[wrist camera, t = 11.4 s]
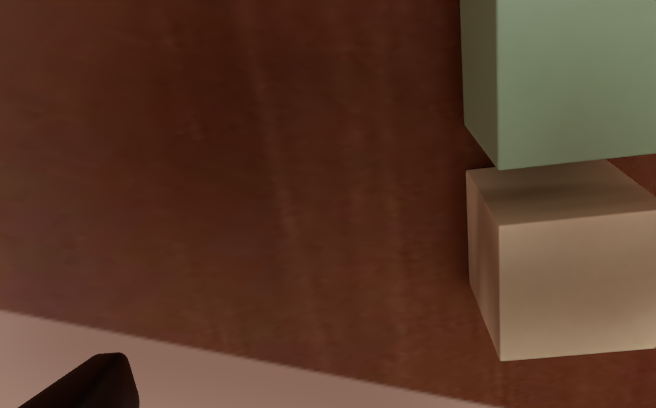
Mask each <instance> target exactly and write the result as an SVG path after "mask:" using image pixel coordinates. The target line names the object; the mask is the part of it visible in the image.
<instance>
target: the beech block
mask: <svg viewBox="0 0 656 408" xmlns="http://www.w3.org/2000/svg"><path fill="white" fill-rule="evenodd" d="M466 196H467V225H468V255H469V283H470V286H471V288H472V291H473V294H474V296H475V299H476V301H477V304H478V306H479V309H480V311H481V314H482V316H483V319H484V321H485V324H486V326H487V329H488V332H489V334H490V337H491V339H492V342H493V344H494V347H495V349H496V352H497V354H498V357H499V359H500V361H511V360H523V359H535V358H547V357H558V356H570V355H582V354H594V353H605V352H617V351H629V350H641V349H652V348H655V347H656V197H655V196H654V195H653V194H651V193H650V192H649V191H647V190H646V189H645V188H643V187H642V186H641V185H639V184H638V183H637V182H635V181H634V180H633V179H631V178H630V177H629V176H627V175H626V174H625V173H623V172H622V171H621V170H619V169H618V168H617V167H615V166H614V165H613V164H611V163H610V162H609V161H607V160H606V159H600V160H591V161H582V162H572V163H563V164H554V165H545V166H536V167H527V168H518V169H508V170H498V169H497V168H496V167H491V168H482V169H473V170H466Z"/></svg>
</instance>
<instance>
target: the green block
mask: <svg viewBox="0 0 656 408" xmlns="http://www.w3.org/2000/svg"><path fill="white" fill-rule="evenodd" d="M460 20H461V49H462V77H463V105H464V125H465V126H466V128H467V129H468V130H469V132H470V133H471V134H472V136H473V137H474V138H475V140H476V141H477V142H478V144H479V145H480V146H481V148H482V149H483V150H484V152H485V153H486V154H487V156H488V157H489V158H490V160H491V161H492V162H493V164H494V165H495V166H496V168H497V169H498V170H508V169H518V168H527V167H536V166H545V165H554V164H563V163H572V162H582V161H591V160H600V159H609V158H618V157H627V156H636V155H646V154H655V153H656V0H460Z"/></svg>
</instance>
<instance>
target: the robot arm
mask: <svg viewBox="0 0 656 408" xmlns="http://www.w3.org/2000/svg"><path fill="white" fill-rule="evenodd" d="M18 408H139V395H138V391H137V388H136V385H135V381H134V378H133V374H132V371H131V368H130V364H129V361H128V359H127V357H126V356H125V355H124V354H122V353H119V352H118V353H105V354H97V355H94V356H93V357H91V358H90V359H88V360H87V361H86V362H84V363H83V364H81V365H80V366H78V367H77V368H75V369H74V370H72V371H71V372H69V373H68V374H66V375H65V376H64V377H62V378H61V379H59V380H58V381H56V382H55V383H53V384H52V385H50V386H49V387H47V388H46V389H44V390H43V391H42V392H40V393H39V394H37V395H36V396H34V397H33V398H31V399H30V400H29V401H27V402H26V403H24V404H23V405H21V406H20V407H18Z"/></svg>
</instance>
